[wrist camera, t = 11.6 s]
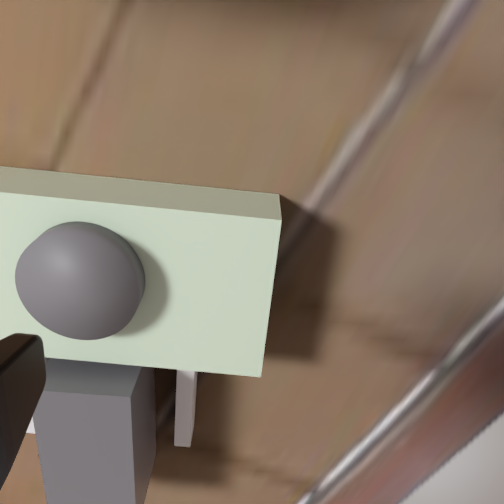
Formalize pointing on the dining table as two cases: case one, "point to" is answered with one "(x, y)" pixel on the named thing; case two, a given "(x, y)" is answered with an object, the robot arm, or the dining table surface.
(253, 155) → the dining table surface
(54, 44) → the dining table surface
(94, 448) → the tall grey prism
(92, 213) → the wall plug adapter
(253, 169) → the dining table surface
